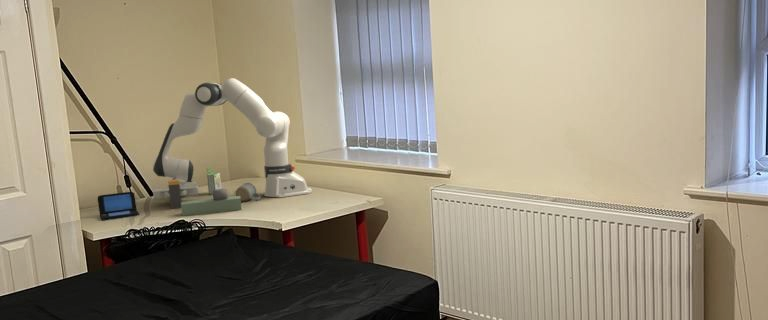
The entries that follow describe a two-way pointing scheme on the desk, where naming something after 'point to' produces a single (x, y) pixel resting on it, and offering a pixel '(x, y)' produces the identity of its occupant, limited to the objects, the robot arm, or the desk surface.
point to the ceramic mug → (247, 192)
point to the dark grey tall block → (175, 194)
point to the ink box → (213, 180)
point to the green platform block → (212, 204)
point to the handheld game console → (117, 205)
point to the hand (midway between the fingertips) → (175, 194)
